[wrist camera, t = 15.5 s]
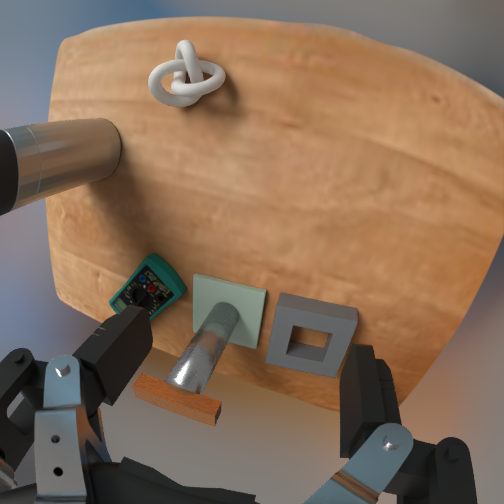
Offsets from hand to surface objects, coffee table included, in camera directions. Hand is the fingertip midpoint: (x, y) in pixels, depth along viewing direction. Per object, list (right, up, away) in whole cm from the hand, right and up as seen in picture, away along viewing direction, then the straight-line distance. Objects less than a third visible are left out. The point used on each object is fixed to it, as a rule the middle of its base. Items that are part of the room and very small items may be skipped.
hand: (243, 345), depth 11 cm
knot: (-6, +24, +20) cm, 31 cm away
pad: (-3, -5, +30) cm, 31 cm away
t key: (-3, -5, +30) cm, 30 cm away
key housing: (+8, -7, +28) cm, 30 cm away
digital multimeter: (-16, -3, +34) cm, 38 cm away
